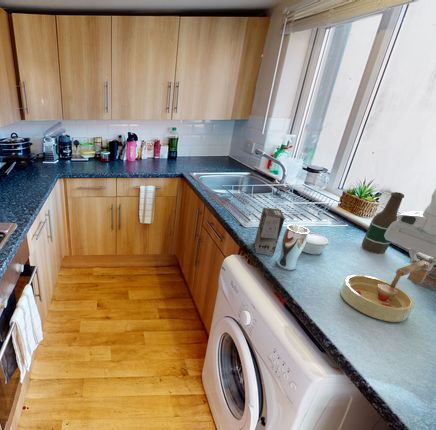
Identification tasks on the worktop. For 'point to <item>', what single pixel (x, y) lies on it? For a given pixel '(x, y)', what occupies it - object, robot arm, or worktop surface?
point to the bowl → (375, 299)
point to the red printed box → (430, 277)
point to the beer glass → (292, 246)
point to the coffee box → (269, 231)
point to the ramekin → (315, 243)
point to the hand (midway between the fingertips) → (419, 266)
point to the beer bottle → (382, 225)
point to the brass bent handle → (415, 275)
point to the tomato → (382, 297)
